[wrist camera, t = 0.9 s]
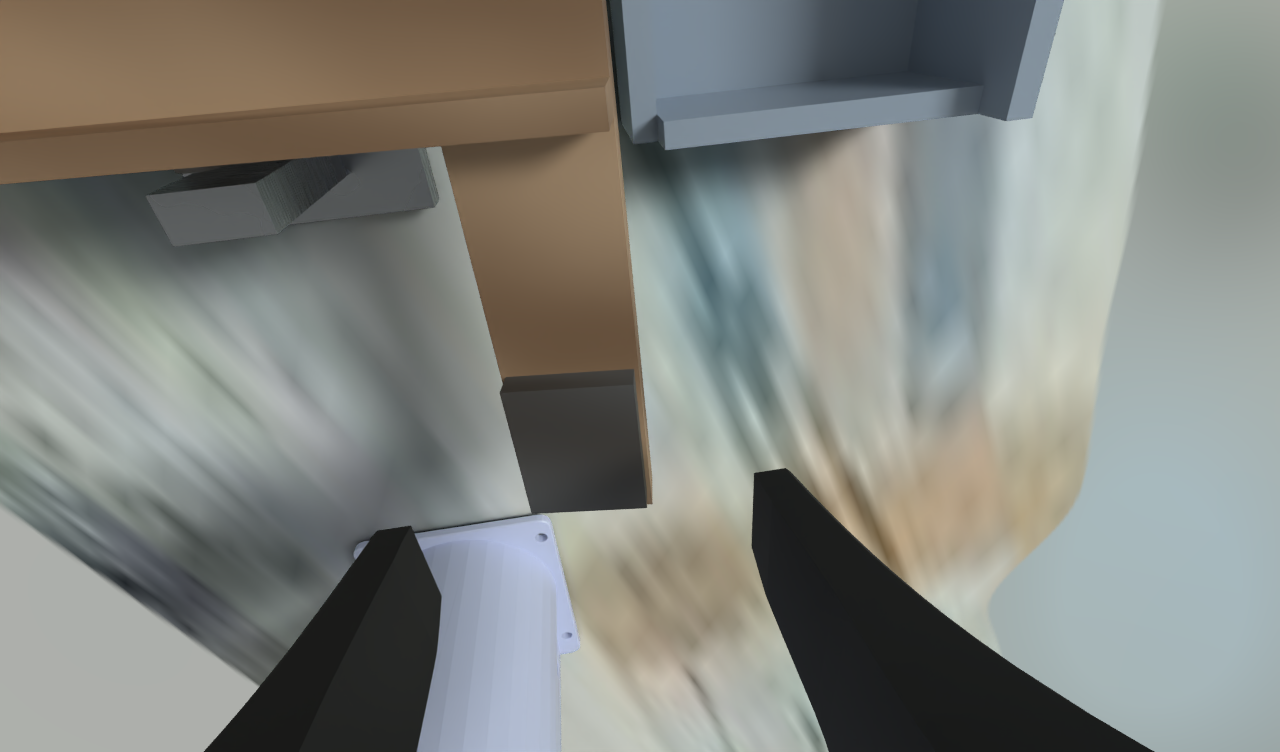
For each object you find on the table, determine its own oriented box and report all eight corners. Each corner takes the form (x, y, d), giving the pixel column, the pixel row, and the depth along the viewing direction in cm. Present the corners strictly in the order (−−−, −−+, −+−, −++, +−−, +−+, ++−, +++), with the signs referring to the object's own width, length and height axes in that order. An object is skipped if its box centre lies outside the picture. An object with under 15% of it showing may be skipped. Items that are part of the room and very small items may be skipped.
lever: (651, 463, 16) (652, 555, 13) (102, 493, 17) (3, 584, 14) (559, -499, 7) (510, -780, 5) (-580, -330, 8) (-1165, -484, 5)
